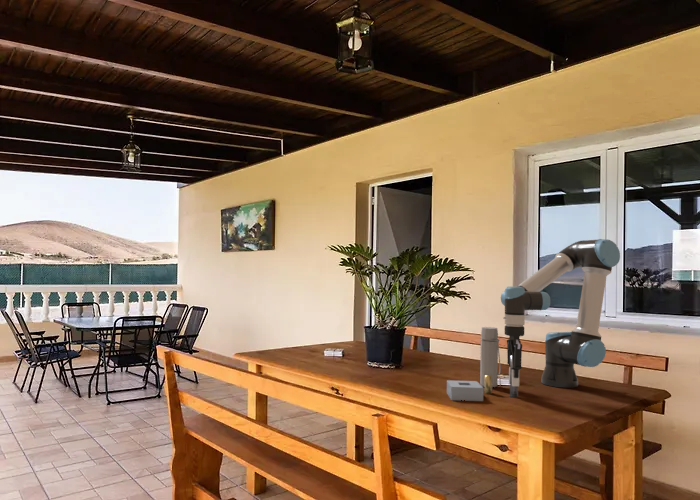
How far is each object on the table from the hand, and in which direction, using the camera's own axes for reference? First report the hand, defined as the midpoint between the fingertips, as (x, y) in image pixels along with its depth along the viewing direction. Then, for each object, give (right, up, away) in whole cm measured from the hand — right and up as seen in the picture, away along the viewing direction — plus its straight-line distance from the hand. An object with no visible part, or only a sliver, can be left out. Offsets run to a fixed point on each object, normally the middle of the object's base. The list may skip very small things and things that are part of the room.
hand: (514, 384), depth 205 cm
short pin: (-9, -5, +5) cm, 11 cm away
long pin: (0, -5, 0) cm, 5 cm away
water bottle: (-4, -5, +18) cm, 19 cm away
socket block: (-20, -4, -2) cm, 21 cm away
